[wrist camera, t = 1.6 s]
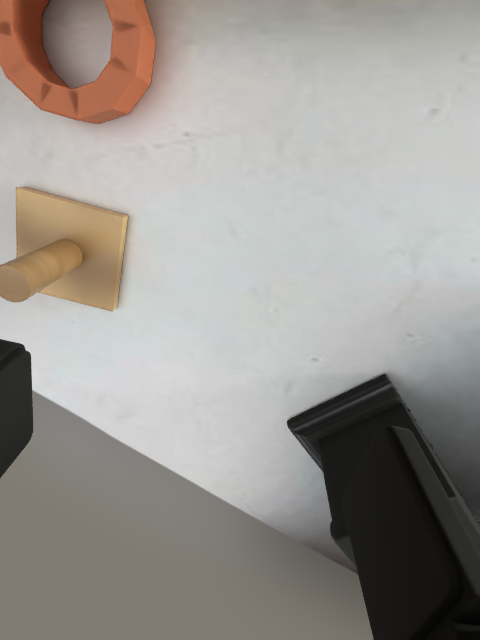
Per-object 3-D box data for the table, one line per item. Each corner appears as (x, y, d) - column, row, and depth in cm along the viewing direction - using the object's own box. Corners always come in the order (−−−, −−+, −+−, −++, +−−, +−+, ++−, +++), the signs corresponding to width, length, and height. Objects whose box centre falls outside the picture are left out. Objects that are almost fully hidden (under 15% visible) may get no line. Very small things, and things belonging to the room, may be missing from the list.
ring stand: (23, 186, 26) (-65, 198, 19) (128, 215, 27) (80, 238, 20) (24, 283, 30) (-51, 324, 23) (117, 307, 30) (72, 355, 23)
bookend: (284, 419, 35) (323, 835, 14) (386, 370, 32) (643, 806, 11) (385, 547, 42) (511, 941, 21) (475, 517, 39) (727, 941, 18)
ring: (15, -73, 20) (-23, -108, 18) (164, -24, 21) (150, -50, 18) (17, 100, 24) (-14, 93, 21) (143, 137, 25) (129, 135, 22)
